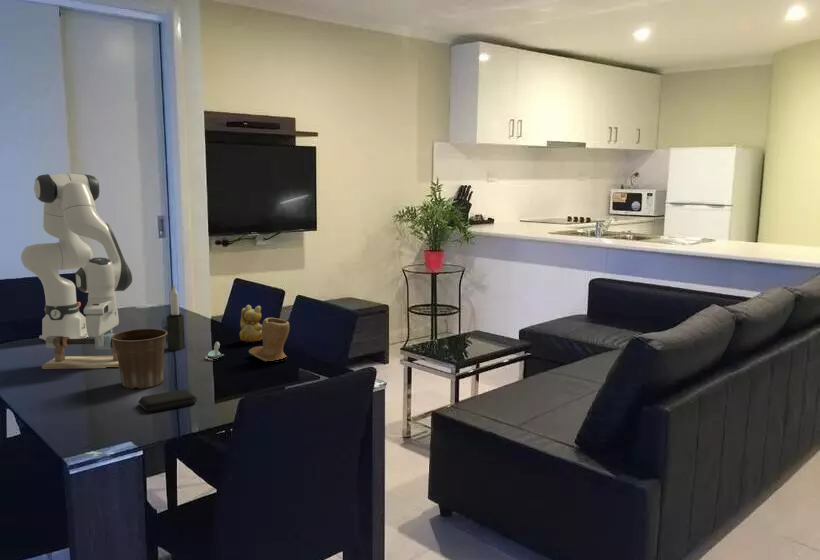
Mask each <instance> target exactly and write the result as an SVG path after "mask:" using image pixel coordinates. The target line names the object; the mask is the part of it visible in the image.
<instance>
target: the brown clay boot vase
mask: <svg viewBox="0 0 820 560" xmlns="http://www.w3.org/2000/svg"><path fill="white" fill-rule="evenodd" d="M261 325H262V345H261V346H260V345H259V346H253V347H252V348H250V349H249V350H248V353H249V354H250V355H252V356H253V357H255V358H257V359H259V360H261V361H264V362H267V361H274V360H279V359H283V358H285V357H287V358H288V356H287V355H286V353H285V352H284V347H285V346H284V345H285V343H286V341H287V338H288V336H289V333H290V322H289V321H288V320H285V319H282V318H276V317H267V318H264V320H263V321H262V323H261Z"/></svg>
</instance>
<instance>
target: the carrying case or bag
mask: <svg viewBox="0 0 820 560" xmlns="http://www.w3.org/2000/svg"><path fill="white" fill-rule="evenodd" d="M197 401H198V398H197V396H195V395H194V394H193V393H192V392H190V391H189V390H188V389H179V390H178V389H177V390H173V391H172V390H171V391H165V392H161V393H156V394H151V395H150V394H148V395H144V396H142V397H141V398H140V399H139V400H138V405H139V406H140V407H142V409H143V410H144V411H146V413H149V412H151V413H157V412H156V411H158V412H163V411H167V410H173V409H178V408H184V407H189V406H193V405H195V403H196V402H197ZM162 410H163V411H162Z"/></svg>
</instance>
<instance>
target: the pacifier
mask: <svg viewBox="0 0 820 560" xmlns="http://www.w3.org/2000/svg"><path fill="white" fill-rule="evenodd" d="M220 345H221V344H220V342H219V341H215V343H214V346H213V350H210V351H209V352H208V354H207V355H206V356H205V357H204V359H205V360H207V359H208V360H207V361H214V360H213V359H217V358H219V357H220V358H221V357H223V356H225V354H224V353H221V352H220V351H219V349H220ZM208 357H209V358H208ZM212 358H213V359H212ZM217 360H218V359H217Z"/></svg>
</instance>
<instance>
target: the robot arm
mask: <svg viewBox="0 0 820 560" xmlns="http://www.w3.org/2000/svg"><path fill="white" fill-rule="evenodd" d="M33 191H34V194H35V197H36V198H37V199H38V201H39V202H41V203H43V220H42V221H43V222H42V224H43V225H42V227H43V230H44V231H45V232H46V233H47V234H48V235H50V236H52V237H54V238H57V239H59V241H57V242H46V243H36V244H31V245H27V246H25V247H24V248H23V250H22V252H21V257H20V260H21V263H22V266H24V268H26V270H28V271H30V272H31V273H32V274H34V275H35V276H36V277H37V278H38V279H39V280H40V282H41V284H42V287H43V291H44V296H45V297H44V299H45V304H44V314H45V316H44V317H42V323H41V325H42V328H41V330H42V334H40V335H39V337H38V339H39V340H43V341H44V342H46V338H47V337H49V336H64V337H69V338H70V339H88V338H95V337H96V338H97V341H98V346H104V345H105V340H104V338H103V336H104V333H113V329H114V328H115V327H117V326H118V325H119V323H120V320H119V319H120V318H119V311H118V307H117V306H118V305H117V294H116V292H124V291H126V290H127V289H128V288H129V287H130V286H131V284H132V282H133V273H132V271H131V269H130V267H129V266H128V263H127V262H126V259H125V258H124V255H123V252H122V250H121V247H120V244H119V243H118V241H117V239H116V236H115V234H114V231H113V230H112V227H111V226H110V224H109V223H107V222H105V221H104V220H103V219H102V218H101V217H100V216H99V213H98V210H97V207H96V203H95V201H97V199H98V198H99V196H100V191H101V188H100V183H99V181H98V179H97V178H96V177H95V176H94V175H91V174H86V173H85V174H80V173H57V174H48V173H45V174H41V175H38V176H37V177H36V178H35V180H34V185H33ZM80 237H85V238H88V239H91V240H94V241H96V242H98V243H100V244H101V246H103V247H104V250H105V252H106V254H107V255H106V256H107V257H94V253H93V252H94V251H93V249H92V247H91V246H90V245H89V244H88V243H87V242H85V241H83V240H82V239H81V238H80ZM75 269H76V272H75V273H74V277H75V283H74V282H73V281H72V280H70V279H68V278H65V277H63V276H61V275H60V273H59V271H63V270H75ZM77 289H78V290H79V291H80V292H82V293H87V300H88V301H87V302H86V305H85V307H84V308H83V314H82V312H80V307H81V301H77ZM87 337H88V338H87Z"/></svg>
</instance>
